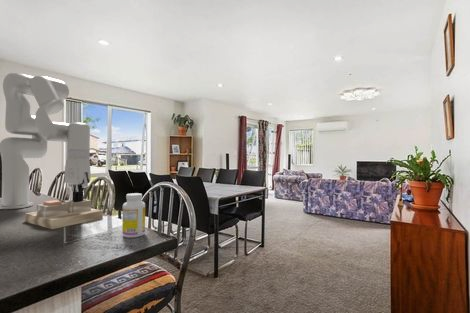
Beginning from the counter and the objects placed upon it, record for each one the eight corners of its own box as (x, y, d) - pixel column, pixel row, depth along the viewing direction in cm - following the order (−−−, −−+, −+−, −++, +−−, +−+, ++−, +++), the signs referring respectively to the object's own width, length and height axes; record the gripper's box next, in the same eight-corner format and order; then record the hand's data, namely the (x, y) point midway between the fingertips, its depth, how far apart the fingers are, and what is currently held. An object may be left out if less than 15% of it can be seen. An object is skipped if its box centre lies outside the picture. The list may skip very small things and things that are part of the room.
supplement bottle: (137, 230, 87) (138, 192, 87) (149, 234, 82) (149, 194, 82) (118, 235, 81) (118, 194, 81) (129, 240, 77) (129, 196, 77)
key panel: (25, 221, 95) (25, 203, 95) (75, 212, 110) (75, 196, 110) (52, 229, 86) (52, 209, 86) (102, 218, 102) (102, 201, 102)
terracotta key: (43, 210, 93) (43, 201, 93) (55, 208, 97) (55, 200, 97) (49, 211, 92) (49, 202, 92) (61, 209, 95) (61, 201, 95)
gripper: (57, 154, 102) (57, 201, 102) (80, 155, 95) (79, 205, 95) (76, 154, 109) (76, 198, 109) (99, 155, 102) (98, 202, 102)
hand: (77, 201), depth 102 cm, fingers closed
